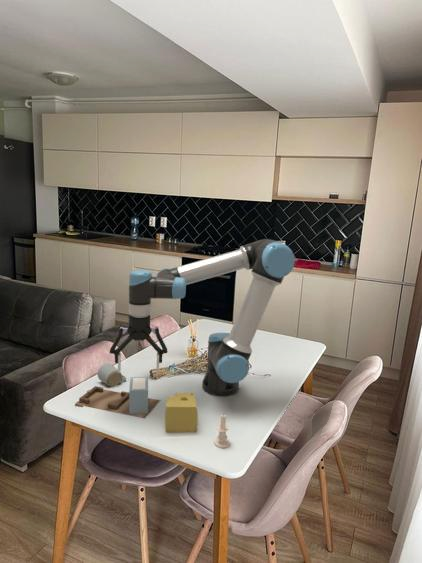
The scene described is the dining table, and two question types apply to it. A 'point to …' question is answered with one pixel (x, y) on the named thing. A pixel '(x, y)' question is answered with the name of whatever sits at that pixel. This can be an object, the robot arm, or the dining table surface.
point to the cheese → (181, 413)
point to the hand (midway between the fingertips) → (138, 371)
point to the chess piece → (222, 434)
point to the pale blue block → (138, 395)
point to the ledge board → (111, 401)
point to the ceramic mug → (110, 375)
